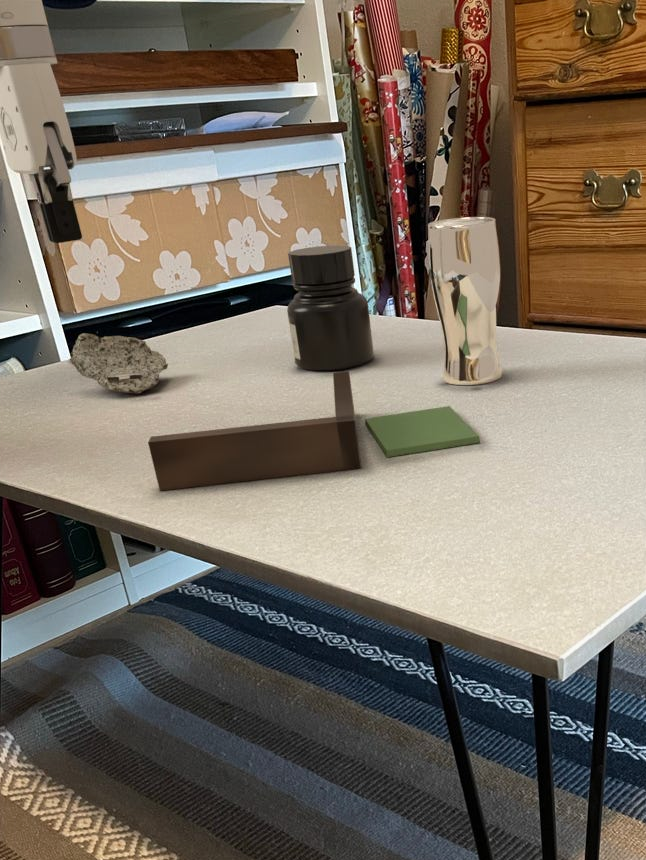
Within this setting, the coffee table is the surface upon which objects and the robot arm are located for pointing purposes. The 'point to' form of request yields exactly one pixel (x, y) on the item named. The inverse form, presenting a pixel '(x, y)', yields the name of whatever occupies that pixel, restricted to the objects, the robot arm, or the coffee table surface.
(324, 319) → the ink bottle
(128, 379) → the rock sample
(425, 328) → the coffee table surface
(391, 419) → the green tile
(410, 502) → the coffee table surface
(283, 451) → the corner stop
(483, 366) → the beer glass
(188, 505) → the coffee table surface
